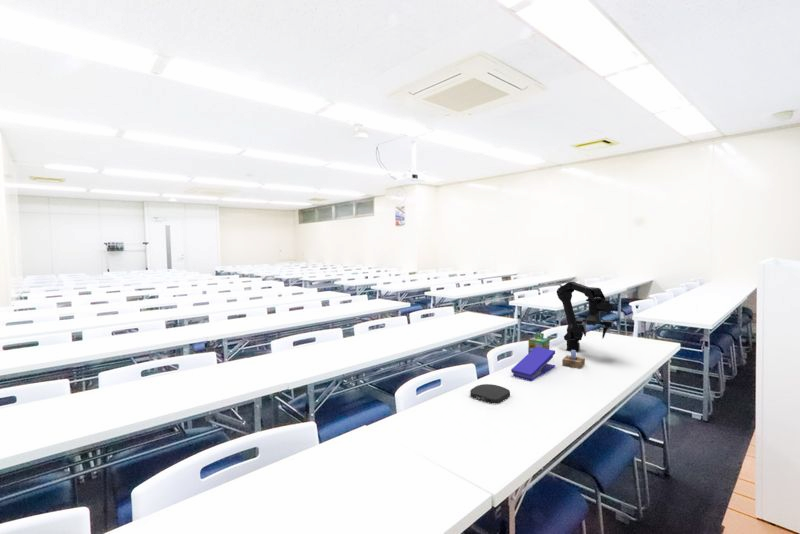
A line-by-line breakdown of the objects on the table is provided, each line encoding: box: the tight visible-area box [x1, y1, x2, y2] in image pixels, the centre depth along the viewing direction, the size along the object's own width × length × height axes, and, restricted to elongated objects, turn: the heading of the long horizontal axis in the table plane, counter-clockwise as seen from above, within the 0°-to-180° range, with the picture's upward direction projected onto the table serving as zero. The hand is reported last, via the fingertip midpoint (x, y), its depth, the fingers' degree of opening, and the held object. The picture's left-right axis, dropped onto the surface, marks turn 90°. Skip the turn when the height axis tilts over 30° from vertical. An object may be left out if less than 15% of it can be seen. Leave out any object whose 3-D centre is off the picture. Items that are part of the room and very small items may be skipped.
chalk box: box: [527, 332, 551, 355], centre depth 221 cm, size 9×9×15 cm
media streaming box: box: [469, 383, 511, 404], centre depth 171 cm, size 15×15×3 cm
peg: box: [570, 350, 577, 360], centre depth 209 cm, size 2×2×8 cm
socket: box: [561, 354, 586, 370], centre depth 209 cm, size 9×9×4 cm
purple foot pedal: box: [510, 347, 556, 382], centre depth 200 cm, size 12×28×10 cm, turn 136°
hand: (594, 337), depth 219 cm, fingers open, 9 cm apart
